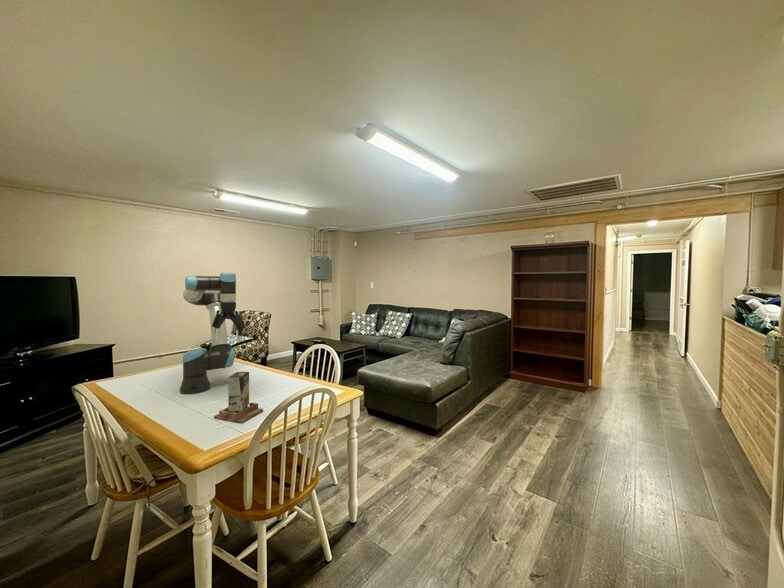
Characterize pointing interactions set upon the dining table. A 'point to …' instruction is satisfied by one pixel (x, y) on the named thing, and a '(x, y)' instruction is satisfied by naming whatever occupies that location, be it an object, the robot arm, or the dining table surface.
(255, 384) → the dining table surface
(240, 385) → the coffee box
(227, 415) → the pocket board
